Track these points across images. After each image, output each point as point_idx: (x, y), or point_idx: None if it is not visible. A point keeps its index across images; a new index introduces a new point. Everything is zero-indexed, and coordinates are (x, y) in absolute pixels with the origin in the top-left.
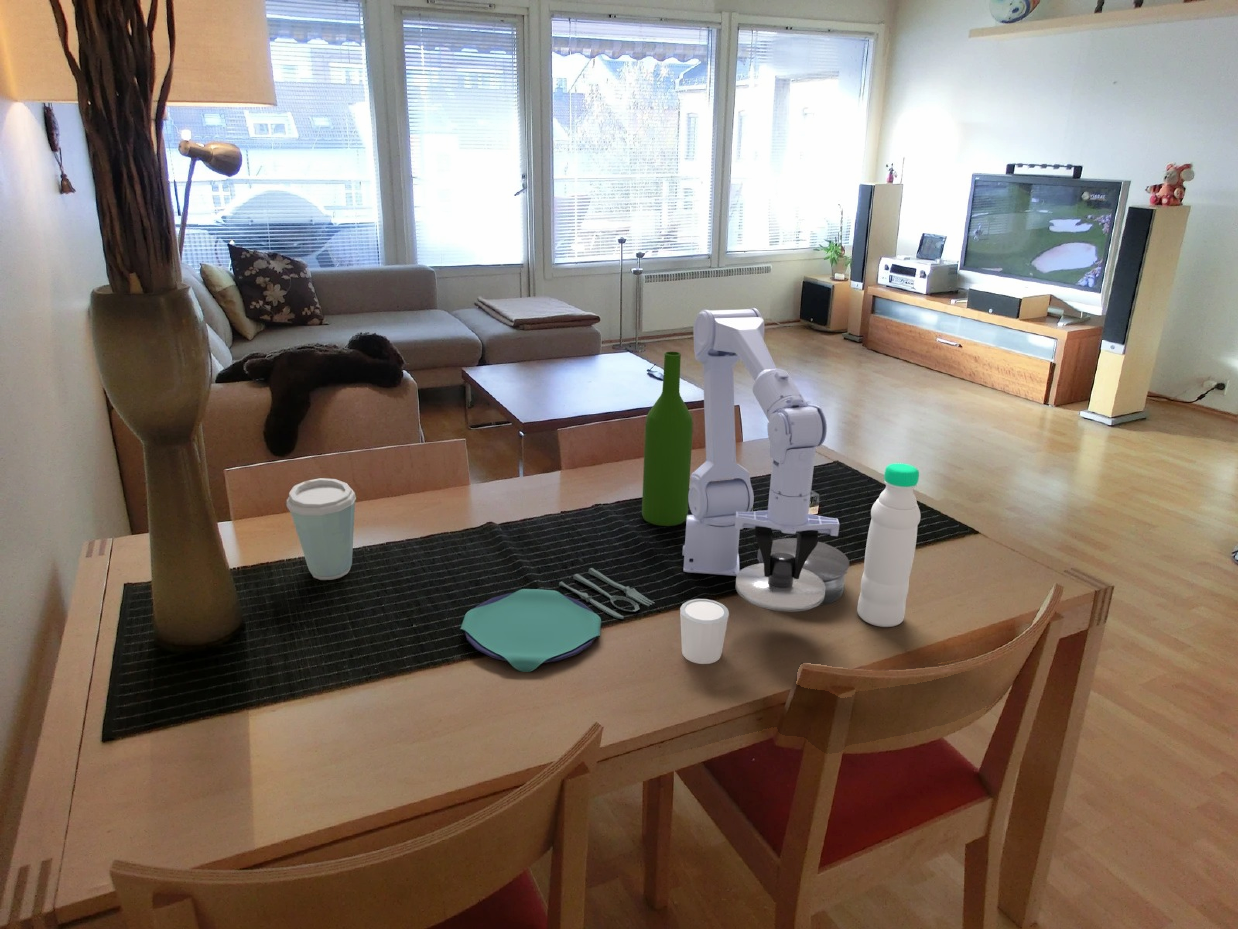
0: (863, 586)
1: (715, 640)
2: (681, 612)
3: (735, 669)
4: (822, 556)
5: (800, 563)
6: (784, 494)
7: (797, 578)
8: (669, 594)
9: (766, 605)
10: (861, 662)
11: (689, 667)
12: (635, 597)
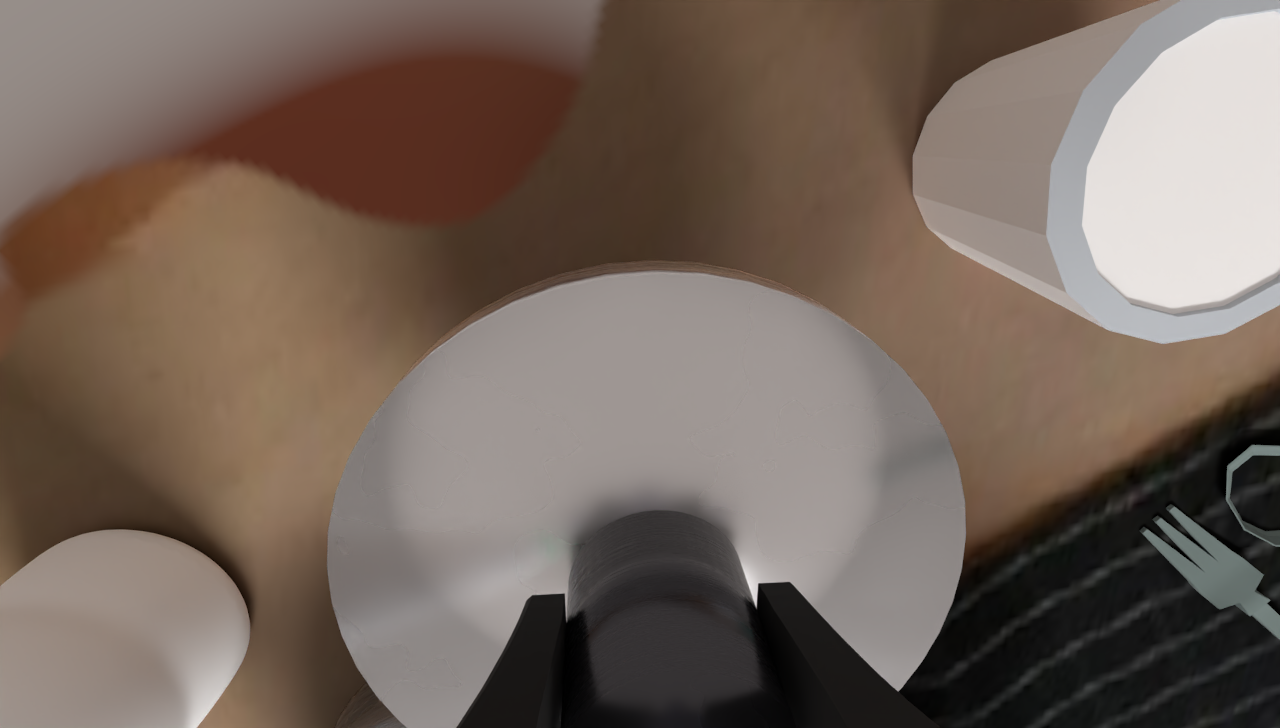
0: (133, 721)
1: (1054, 45)
2: None
3: (857, 29)
4: None
5: (510, 702)
6: None
7: (537, 597)
8: (1063, 606)
9: (778, 284)
10: (208, 206)
11: (1086, 11)
12: (1220, 552)
